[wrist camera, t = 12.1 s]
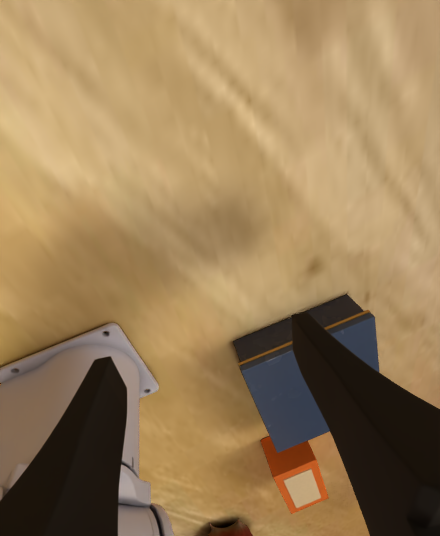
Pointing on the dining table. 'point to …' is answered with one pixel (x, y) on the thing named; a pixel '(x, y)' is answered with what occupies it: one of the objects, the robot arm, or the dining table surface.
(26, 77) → the dining table surface
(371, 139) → the dining table surface
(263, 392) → the biscuit tin
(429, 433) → the robot arm
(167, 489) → the dining table surface
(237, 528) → the fruit
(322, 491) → the snack box
